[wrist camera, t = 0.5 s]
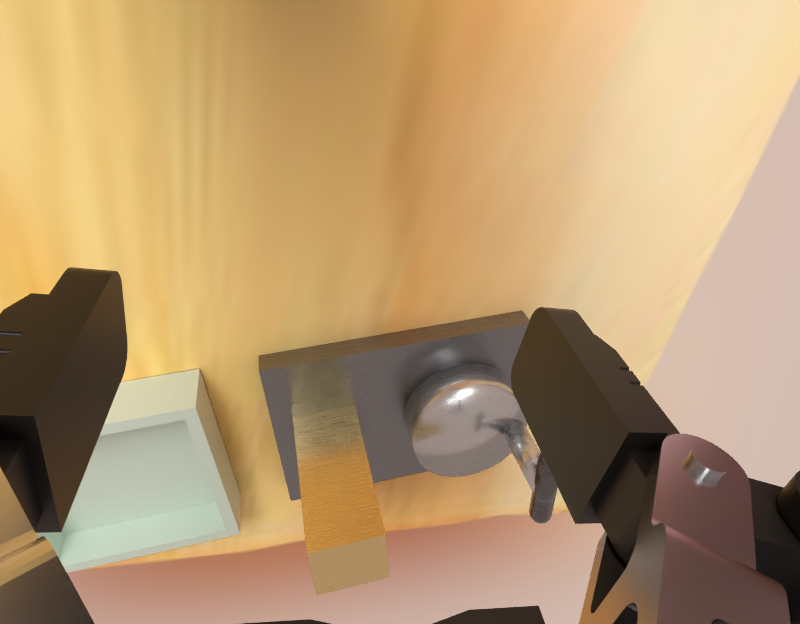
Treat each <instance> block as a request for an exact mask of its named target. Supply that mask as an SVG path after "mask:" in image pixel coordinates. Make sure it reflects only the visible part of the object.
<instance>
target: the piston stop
mask: <svg viewBox="0 0 800 624" xmlns="http://www.w3.org/2000/svg"><path fill="white" fill-rule="evenodd" d="M293 425H294V434H295V444H296V454H297V463H298V473H299V483H300V493H301V502H302V512H303V522H304V531H305V541H306V551H307V557H308V561H309V565H310V569H311V573H312V577H313V582H314V586H315V590H316V594H317V595H319V594H323V593H327V592H331V591H335V590H339V589H343V588H347V587H351V586H355V585H359V584H363V583H368V582H372V581H375V580H380V579H384V578H387V577H389V568H388V556H387V545H386V535H385V530H384V526H383V522H382V517H381V513H380V509H379V505H378V501H377V496H376V492H375V488H374V484H373V480H372V475H371V471H370V467H369V463H368V458H367V454H366V450H365V446H364V442H363V437H362V433H361V429H360V425H359V420H358V416H357V412H356V408H355V405H352V406H347V407H342V408H337V409H332V410H326V411H321V412H316V413H311V414H306V415H300V416H295V417H293Z"/></svg>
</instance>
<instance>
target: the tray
mask: <svg viewBox="0 0 800 624" xmlns="http://www.w3.org/2000/svg"><path fill="white" fill-rule="evenodd" d="M36 534H37V536H38V537H39V538H40V537H42V536H44V537H45V538H46V539H47V540H48V541H49V543H50V544H51V546H52V547H53V549H54V551H55V552H56V554H57V556H58V558H59V560H60V561H61V563H62V565H63V567H64V569H65V571H66V572H67V573H69V572H73V571H77V570H82V569H86V568H91V567H95V566H100V565H104V564H109V563H113V562H117V561H122V560H126V559H131V558H135V557H140V556H144V555H149V554H153V553H157V552H162V551H166V550H171V549H175V548H180V547H184V546H189V545H193V544H198V543H202V542H206V541H211V540H215V539H220V538H224V537H229V536H233V535H238V534H240V491H239V488H238V485H237V482H236V479H235V476H234V473H233V470H232V466H231V463H230V460H229V457H228V454H227V451H226V448H225V445H224V442H223V439H222V436H221V433H220V430H219V427H218V424H217V421H216V418H215V415H214V412H213V409H212V406H211V402H210V399H209V396H208V393H207V390H206V387H205V384H204V381H203V378H202V375H201V372H200V369H195V370H189V371H183V372H177V373H172V374H166V375H160V376H154V377H148V378H143V379H137V380H131V381H125V382H120V385H119V388H118V390H117V393H116V395H115V398H114V400H113V403H112V405H111V408H110V410H109V413H108V415H107V418H106V420H105V423H104V426H103V428H102V431H101V433H100V436H99V438H98V441H97V443H96V446H95V448H94V451H93V453H92V456H91V458H90V461H89V463H88V466H87V469H86V471H85V474H84V476H83V479H82V481H81V484H80V486H79V489H78V491H77V494H76V496H75V499H74V501H73V504H72V507H71V509H70V512H69V514H68V517H67V519H66V522H65V524H64V527H63V529H62V532H50V533H36Z"/></svg>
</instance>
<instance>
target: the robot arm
mask: <svg viewBox="0 0 800 624" xmlns="http://www.w3.org/2000/svg"><path fill="white" fill-rule="evenodd" d="M126 360H127V334H126V323H125V313H124V302H123V292H122V283H121V278H120V275H119V273H118V272H117V271H107V270H95V269H83V268H68V269H67V270H66V271H65V272H64V274H63V275H62V276H61V278H60V279H59V281H58V282H57V284H56V285H55V287H54V288H53V289H52V291H51V292H50V294H49V295H47V294H33V293H31V294H30V295H28V296H26V297H24V298H23V299H21V300H19V301H18V302H16V303H14V304H13V305H11V306H9V307H8V308H6V309H4V310H3V311H2V312H1V314H0V624H94V622H93V620H92V618H91V616H90V615H89V613H88V611H87V609H86V607H85V605H84V604H83V602H82V600H81V598H80V596H79V594H78V593H77V591H76V589H75V587H74V585H73V583H72V582H71V580H70V578H69V576H68V574H67V572H66V571H65V569H64V567H63V565H62V563H61V561H60V560H59V558H58V556H57V554H56V552H55V551H54V549H53V547H52V546H51V544H50V543H49V541H48V540H47V539H46V538H45V537H44V536H42V537H40V538H39V537H38V536H37V534H36V533H50V532H62V529H63V527H64V524H65V522H66V519H67V517H68V514H69V512H70V509H71V507H72V504H73V501H74V499H75V496H76V494H77V491H78V489H79V486H80V484H81V481H82V479H83V476H84V474H85V471H86V469H87V466H88V463H89V461H90V458H91V456H92V453H93V451H94V448H95V446H96V443H97V441H98V438H99V436H100V433H101V431H102V428H103V426H104V423H105V420H106V418H107V415H108V413H109V410H110V408H111V405H112V403H113V400H114V398H115V395H116V393H117V390H118V388H119V385H120V382H121V380H122V377H123V374H124V371H125V366H126ZM511 386H512V391H513V394H514V396H515V398H516V400H517V402H518V404H519V406H520V409H521V411H522V413H523V415H524V417H525V419H526V421H527V423H528V425H529V427H530V430H531V432H532V434H533V436H534V438H535V440H536V442H537V444H538V446H539V448H540V451H541V453H542V455H543V457H544V459H545V461H546V463H547V465H548V467H549V469H550V472H551V474H552V476H553V478H554V480H555V482H556V484H557V486H558V488H559V490H560V493H561V495H562V497H563V499H564V501H565V503H566V505H567V507H568V509H569V511H570V513H571V516H572V518H573V520H574V522H575V524H577V523H579V524H581V523H601V524H602V526H603V528H604V530H605V532H604V534H603V535H602V537H601V538H600V540H599V543H598V545H597V550H596V554H595V558H594V562H593V567H592V571H591V575H590V579H589V583H588V588H587V592H586V597H585V601H584V605H583V609H582V613H581V617H580V622H579V624H800V471H799V472H797V473H796V475H795V476H794V477H793V478H792V479H791V480H790V481H789V483H788V484H787V485H786V486H785V487H784V488H783V487H779V486H776V485H772V484H768V483H765V482H761V481H758V480H754V479H751V478H748V477H747V475H746V473H745V471H744V470H743V469H742V467H741V466H740V465H739V464H738V463H737V462H736V461H735V460H734V459H733V458H732V457H731V456H730V455H729V454H727V453H726V452H725V451H723V450H722V449H721V448H719V447H718V446H716V445H714V444H713V443H710V442H709V441H706V440H704V439H702V438H699V437H696V436H693V435H688V434H680V433H679V432H678V430H677V429H676V428H675V426H674V425H673V424H672V423H671V421H670V420H669V419H668V417H667V416H666V415H665V413H664V412H663V411H662V410H661V408H660V407H659V406H658V404H657V403H656V402H655V401H654V399H653V398H652V397H651V395H650V394H649V393H648V391H647V390H646V389H645V388H644V386H640V381H639V380H638V379H637V377H636V376H635V375H634V373H633V372H632V371H629V367H628V366H627V364H626V363H625V362H624V360H623V359H622V358H621V357H620V355H619V354H618V353H617V351H616V350H615V349H613V348H612V347H611V346H609V345H608V344H607V343H606V342H604V341H603V340H602V339H600V338H599V337H598V336H596V335H594V334H593V332H592V331H591V330H590V328H589V327H588V326H587V324H586V323H585V322H584V320H583V319H582V318H581V316H580V315H579V314H578V313H577V312H576V311H574V310H568V309H556V308H543V307H540V308H538V309H536V310H535V311H534V313H533V314H532V316H531V319H530V321H529V324H528V326H527V329H526V332H525V334H524V337H523V339H522V342H521V344H520V347H519V350H518V352H517V355H516V357H515V360H514V362H513V365H512V370H511ZM244 624H329V623H325V622H320V621H315V620H294V621H279V622H278V621H277V622H261V623H244ZM433 624H545V623H544V620H543V617H542V614H541V611H540V609H539V606H527V607H510V608H494V609H477V610H468V611H465V612H463V613H460V614H457V615H455V616H452V617H449V618H447V619H444V620H441V621H439V622H436V623H433Z"/></svg>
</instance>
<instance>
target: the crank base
mask: <svg viewBox="0 0 800 624" xmlns="http://www.w3.org/2000/svg"><path fill="white" fill-rule="evenodd" d="M529 321H530V320H529V319H528V318H527V316H526V315H525V314H524V312H523V311H518V312H512V313H506V314H501V315H495V316H489V317H483V318H477V319H471V320H466V321H460V322H454V323H448V324H442V325H436V326H431V327H425V328H419V329H413V330H407V331H401V332H396V333H390V334H384V335H378V336H372V337H366V338H361V339H355V340H349V341H343V342H337V343H331V344H326V345H320V346H314V347H308V348H302V349H297V350H291V351H285V352H279V353H273V354H267V355H262V356H259V372H260V376H261V380H262V384H263V389H264V393H265V397H266V401H267V405H268V409H269V413H270V417H271V421H272V425H273V429H274V433H275V438H276V442H277V446H278V450H279V454H280V458H281V462H282V466H283V470H284V474H285V478H286V483H287V487H288V491H289V495H290V499H291V501H292V500H297V499H301V493H300V483H299V473H298V463H297V454H296V444H295V434H294V425H293V417H295V416H300V415H306V414H311V413H316V412H321V411H326V410H332V409H337V408H342V407H347V406H352V405H355V408H356V412H357V416H358V420H359V425H360V429H361V433H362V437H363V442H364V446H365V450H366V454H367V458H368V463H369V467H370V471H371V475H372V480H373V483H375V482H379V481H384V480H388V479H393V478H398V477H402V476H407V475H411V474H416V473H421V472H425V471H430V472H432V473H434V474H437V475H442V476H449V477H456V476H465V475H470V474H474V473H477V472H480V471H483V470H485V469H488V468H490V467H492V466H493V465H495V464H497V463H498V462H500V461H502V460H503V459H504V458H505V457H507V456H508V455H509V454H510V453H513V455H514V456H515V458H516V460H517V462H518V464H519V466H520V468H521V470H522V472H523V474H524V476H525V478H526V480H527V481H528V483H529V485H530V487H531V489H532V497H531V503H530V509H529V513H530V516H531V518H532V519H533V520H534V521H535V522H537V523H545V522H547V521H549V519H550V518H551V515H552V511H553V506H554V501H555V496H556V492H557V487H558V486H557V484H556V482H555V480H554V478H553V476H552V474H551V472H550V469H549V467H548V465H547V463H546V461H545V459H544V457H543V455H542V453H540V451H539V450H538V448H537V446H536V444H535V443H534V441H533V439H532V437H531V436H530V434H529V432H528V430H527V429H526V426H527V421H526V419H525V417H524V415H523V413H522V411H521V409H520V406H519V404H518V402H517V400H516V398H515V396H514V394H513V391H512V386H511V370H512V365H513V362H514V360H515V357H516V355H517V352H518V350H519V347H520V344H521V342H522V339H523V337H524V334H525V332H526V329H527V326H528V324H529Z"/></svg>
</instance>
